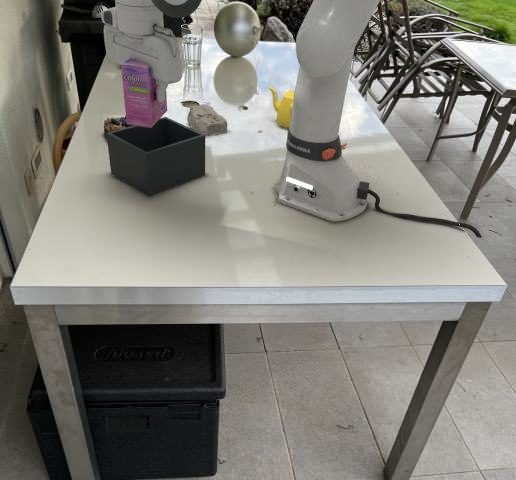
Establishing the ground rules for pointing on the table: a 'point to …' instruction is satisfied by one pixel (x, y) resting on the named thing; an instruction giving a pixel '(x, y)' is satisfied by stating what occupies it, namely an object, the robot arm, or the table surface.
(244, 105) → the table surface
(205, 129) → the stone
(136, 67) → the box
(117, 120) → the pastry
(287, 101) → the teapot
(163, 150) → the bin
